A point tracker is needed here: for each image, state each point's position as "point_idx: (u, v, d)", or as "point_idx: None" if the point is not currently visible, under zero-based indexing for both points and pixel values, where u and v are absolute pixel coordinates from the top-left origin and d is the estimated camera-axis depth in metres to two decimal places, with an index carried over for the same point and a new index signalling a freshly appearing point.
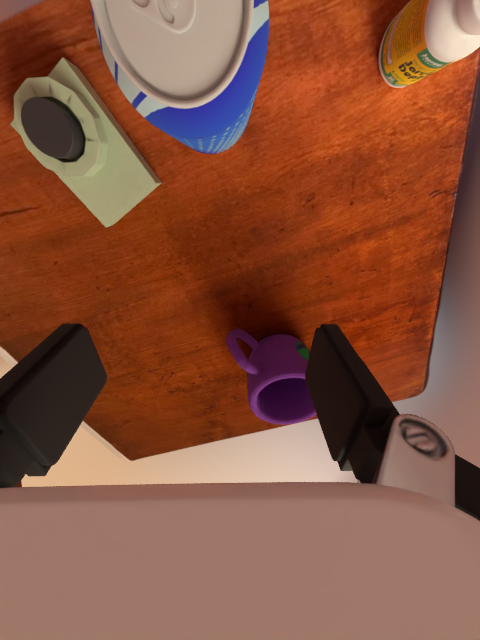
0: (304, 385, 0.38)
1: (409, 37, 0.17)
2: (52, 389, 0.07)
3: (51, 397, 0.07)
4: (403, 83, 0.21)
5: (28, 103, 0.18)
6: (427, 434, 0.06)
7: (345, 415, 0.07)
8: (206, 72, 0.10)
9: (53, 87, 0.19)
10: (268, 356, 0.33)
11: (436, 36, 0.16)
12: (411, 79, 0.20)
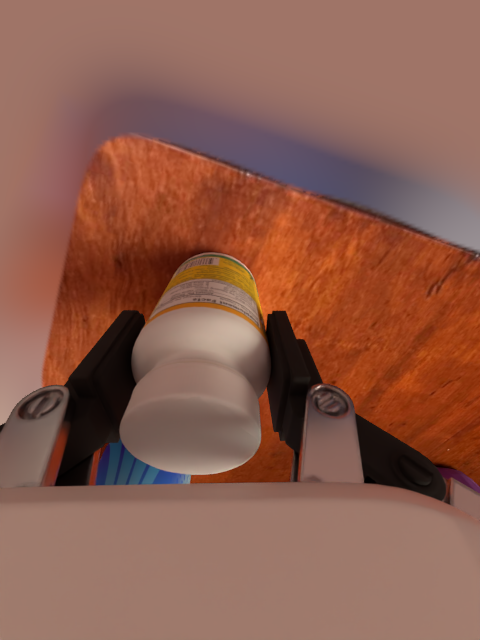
0: None
1: None
2: (124, 366, 0.08)
3: (123, 373, 0.08)
4: None
5: None
6: (333, 396, 0.06)
7: (278, 388, 0.07)
8: None
9: None
10: None
11: None
12: None
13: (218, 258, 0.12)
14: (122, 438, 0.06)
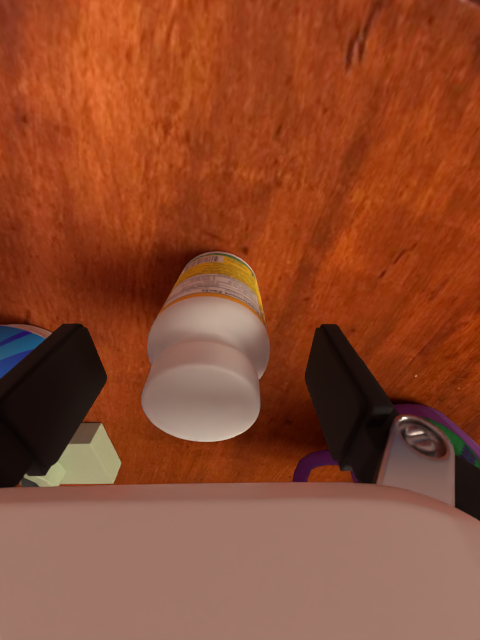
0: None
1: None
2: (52, 389, 0.07)
3: (51, 397, 0.07)
4: None
5: None
6: (427, 434, 0.06)
7: (345, 415, 0.07)
8: None
9: None
10: None
11: None
12: None
13: (222, 256, 0.13)
14: (143, 404, 0.07)
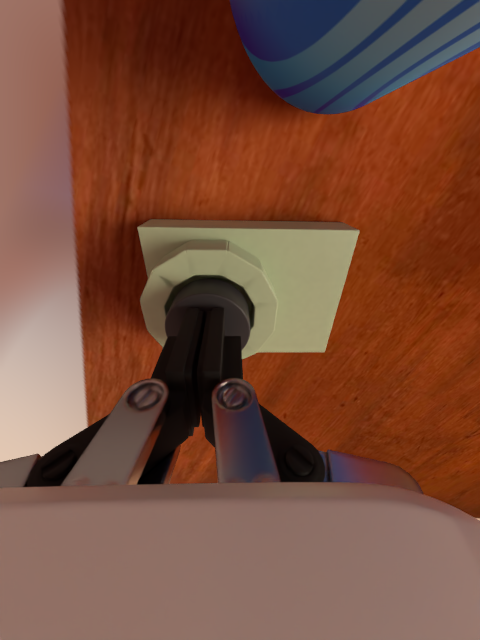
0: None
1: None
2: None
3: None
4: None
5: (169, 328, 0.11)
6: (237, 388, 0.07)
7: None
8: None
9: (167, 275, 0.11)
10: None
11: None
12: None
13: None
14: None
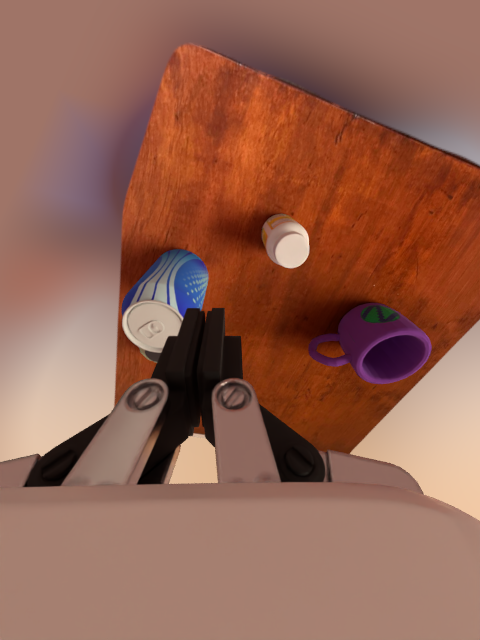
0: None
1: None
2: None
3: None
4: None
5: (146, 352, 0.39)
6: (237, 388, 0.07)
7: None
8: (178, 328, 0.24)
9: None
10: (347, 341, 0.38)
11: None
12: None
13: (285, 215, 0.32)
14: (276, 249, 0.26)
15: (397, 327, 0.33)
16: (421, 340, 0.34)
